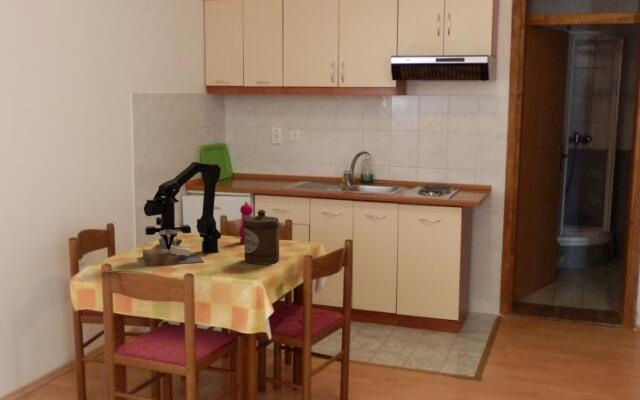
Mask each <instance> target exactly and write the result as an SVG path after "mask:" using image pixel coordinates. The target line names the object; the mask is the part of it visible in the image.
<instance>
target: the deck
mask: <svg viewBox="0 0 640 400" xmlns="http://www.w3.org/2000/svg"><path fill="white" fill-rule="evenodd" d="M178 255H179V254H171V253H170V250H167V249H163V248H158V249H143V250H142V257H143V261H144V262H145V265H146V267H154V266H167V265H168V266H169V265H180V263H179V258H178Z"/></svg>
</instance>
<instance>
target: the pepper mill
mask: <svg viewBox="0 0 640 400" xmlns="http://www.w3.org/2000/svg"><path fill="white" fill-rule="evenodd" d="M253 208H254V207H253V206H252V205H250V204H249V201H244V204H242V205H241V206H240V209H239V211H240V214H241V217H240V218H241V219H242V220H241V221H242V222H241V227H239V228H240V229H239V232H238V236H239V237H240V239H239V243H240V244H243V245H244V243H245V242H244V241H245V226H244V219H245V218H248V217H253V216H252V213H253V212H254V211H253V210H254V209H253Z"/></svg>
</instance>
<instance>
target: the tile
mask: <svg viewBox="0 0 640 400" xmlns="http://www.w3.org/2000/svg"><path fill="white" fill-rule="evenodd" d="M170 253H171V254H177V255H187V256H190V254H191V248H190V247H188V246H180V245H175V246H174V245H171V247H170Z"/></svg>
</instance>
